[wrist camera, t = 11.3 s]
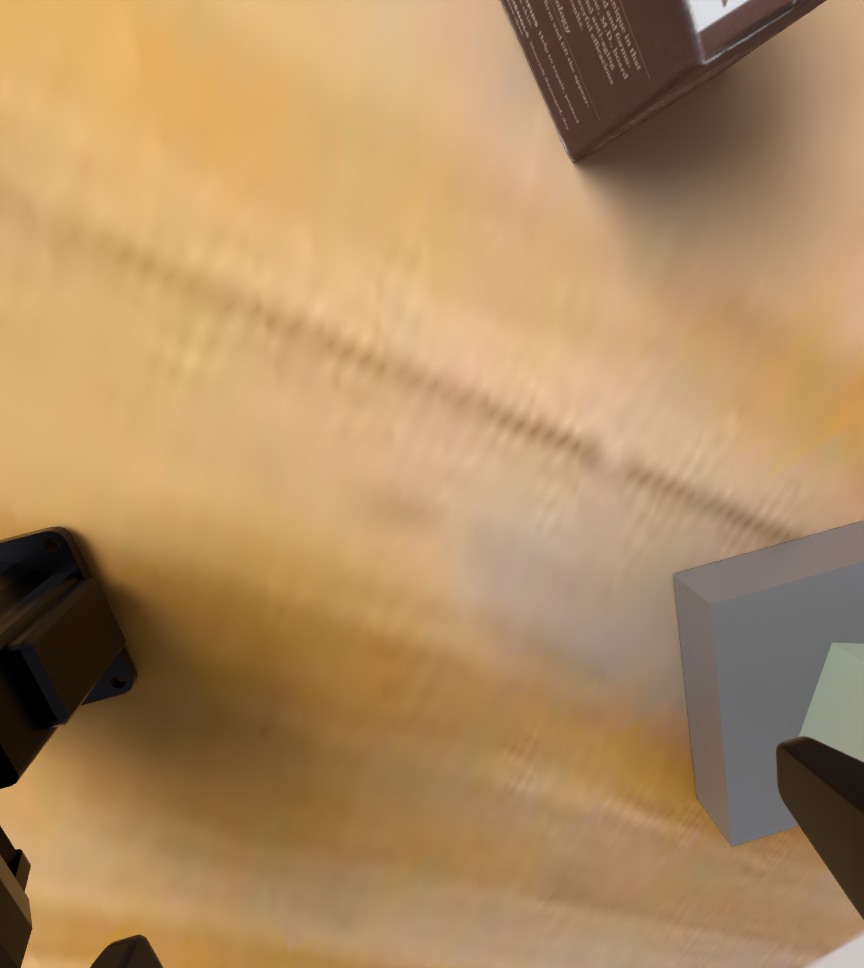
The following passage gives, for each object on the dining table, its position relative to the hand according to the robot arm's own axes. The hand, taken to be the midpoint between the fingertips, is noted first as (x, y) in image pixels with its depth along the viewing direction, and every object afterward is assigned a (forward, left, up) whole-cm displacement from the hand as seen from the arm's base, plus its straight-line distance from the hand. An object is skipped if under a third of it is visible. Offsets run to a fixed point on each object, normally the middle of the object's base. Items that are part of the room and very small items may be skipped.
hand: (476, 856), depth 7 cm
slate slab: (+16, -11, -13) cm, 23 cm away
